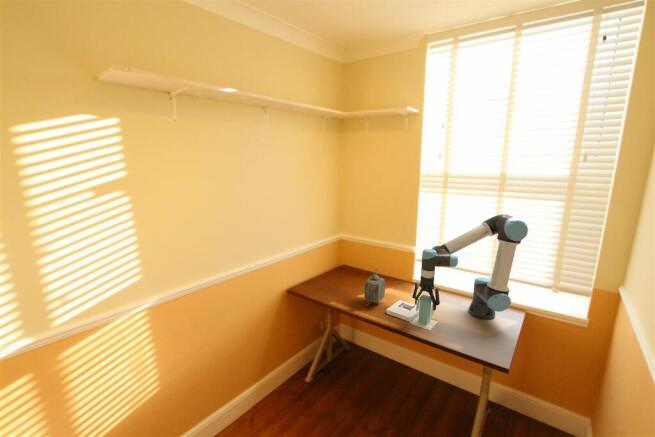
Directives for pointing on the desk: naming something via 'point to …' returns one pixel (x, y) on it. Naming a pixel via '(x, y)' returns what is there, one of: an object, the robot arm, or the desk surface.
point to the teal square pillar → (424, 309)
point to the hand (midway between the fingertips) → (424, 312)
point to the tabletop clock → (374, 288)
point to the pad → (428, 327)
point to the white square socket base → (403, 310)
